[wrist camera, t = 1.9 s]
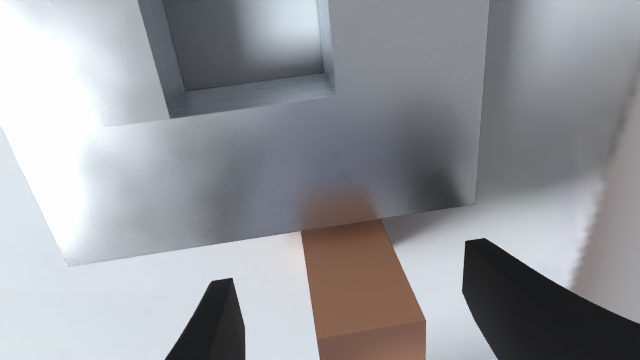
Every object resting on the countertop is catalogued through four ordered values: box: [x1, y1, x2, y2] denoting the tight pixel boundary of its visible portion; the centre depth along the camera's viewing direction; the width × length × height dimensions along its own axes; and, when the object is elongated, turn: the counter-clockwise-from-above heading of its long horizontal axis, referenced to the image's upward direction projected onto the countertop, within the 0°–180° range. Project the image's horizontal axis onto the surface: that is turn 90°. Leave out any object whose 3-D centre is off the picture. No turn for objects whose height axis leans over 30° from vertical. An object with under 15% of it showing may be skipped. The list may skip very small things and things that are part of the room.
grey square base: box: [0, 0, 490, 267], centre depth 11 cm, size 12×12×4 cm
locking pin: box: [301, 219, 426, 360], centre depth 14 cm, size 3×3×6 cm
